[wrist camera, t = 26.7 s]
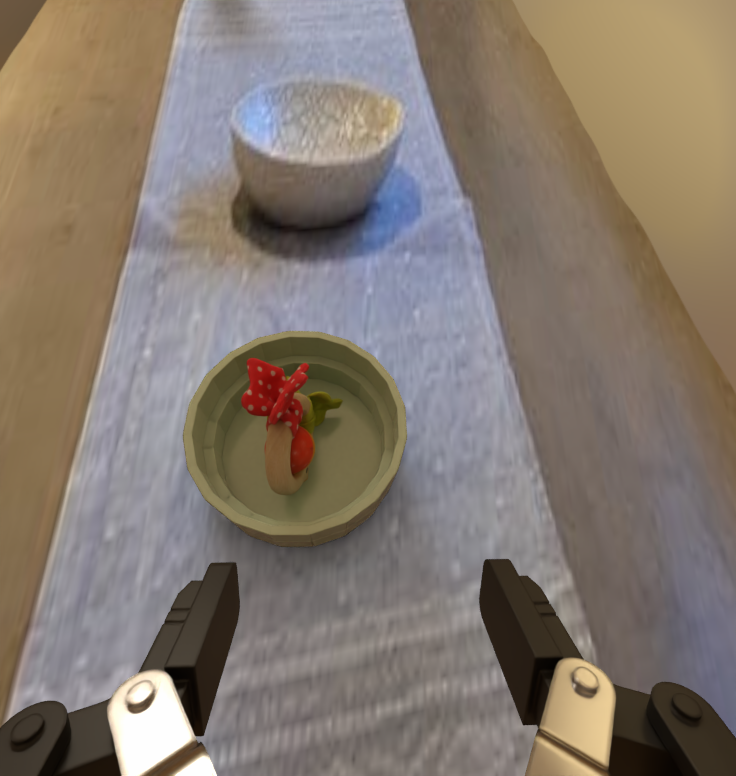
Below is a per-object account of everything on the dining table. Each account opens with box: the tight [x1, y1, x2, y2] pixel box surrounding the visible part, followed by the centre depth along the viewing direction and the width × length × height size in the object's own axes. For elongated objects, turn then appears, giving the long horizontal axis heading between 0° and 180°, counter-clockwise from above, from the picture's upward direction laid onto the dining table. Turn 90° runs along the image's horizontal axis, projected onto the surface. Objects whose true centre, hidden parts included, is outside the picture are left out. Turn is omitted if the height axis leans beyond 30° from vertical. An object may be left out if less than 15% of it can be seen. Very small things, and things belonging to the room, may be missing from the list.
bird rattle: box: [241, 358, 343, 495], centre depth 29 cm, size 6×11×9 cm
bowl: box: [183, 331, 407, 547], centre depth 32 cm, size 15×15×6 cm
